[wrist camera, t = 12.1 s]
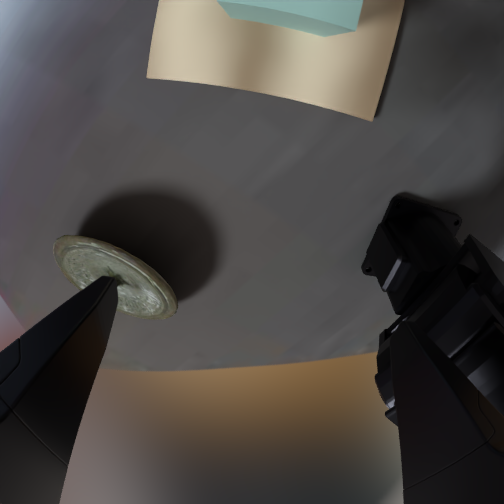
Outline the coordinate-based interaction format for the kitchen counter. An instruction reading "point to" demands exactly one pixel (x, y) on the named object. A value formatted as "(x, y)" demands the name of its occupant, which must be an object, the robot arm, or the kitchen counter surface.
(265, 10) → the teal block
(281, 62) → the pad
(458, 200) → the kitchen counter surface
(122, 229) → the kitchen counter surface
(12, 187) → the kitchen counter surface
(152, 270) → the lid
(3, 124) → the kitchen counter surface
